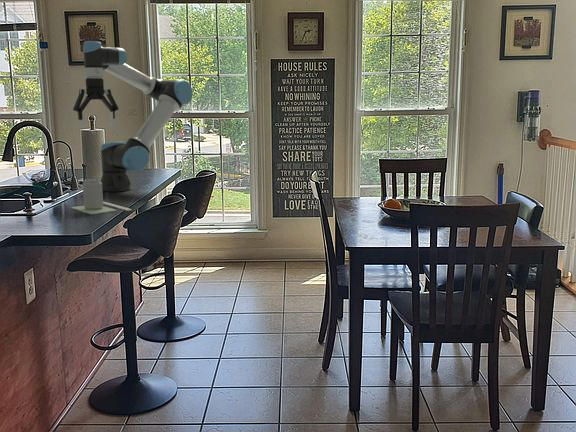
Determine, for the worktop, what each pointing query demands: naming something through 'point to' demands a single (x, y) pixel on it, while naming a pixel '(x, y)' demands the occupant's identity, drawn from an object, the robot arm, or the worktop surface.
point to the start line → (117, 206)
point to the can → (92, 194)
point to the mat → (102, 210)
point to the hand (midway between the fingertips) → (97, 126)
